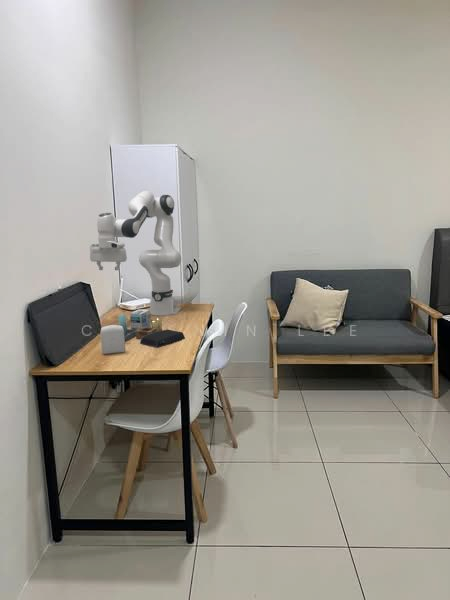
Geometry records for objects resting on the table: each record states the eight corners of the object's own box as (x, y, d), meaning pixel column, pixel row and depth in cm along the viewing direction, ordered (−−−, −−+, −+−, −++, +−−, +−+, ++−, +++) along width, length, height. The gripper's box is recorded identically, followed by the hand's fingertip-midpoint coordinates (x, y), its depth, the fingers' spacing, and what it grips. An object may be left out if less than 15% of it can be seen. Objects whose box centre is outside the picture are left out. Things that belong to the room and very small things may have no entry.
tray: (122, 333, 235) (122, 328, 235) (138, 334, 233) (138, 329, 232) (109, 340, 222) (108, 335, 222) (125, 341, 220) (125, 336, 219)
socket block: (143, 334, 232) (142, 327, 231) (157, 335, 230) (157, 327, 229) (135, 338, 225) (135, 331, 224) (150, 339, 223) (150, 331, 222)
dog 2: (157, 330, 240) (156, 317, 238) (163, 330, 239) (162, 317, 238) (154, 332, 237) (154, 319, 235) (160, 332, 236) (160, 319, 235)
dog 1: (153, 333, 235) (152, 319, 234) (159, 333, 234) (158, 320, 233) (150, 334, 232) (150, 321, 231) (156, 335, 231) (156, 321, 230)
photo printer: (101, 354, 201) (99, 327, 198) (101, 351, 205) (99, 325, 202) (125, 352, 203) (124, 325, 201) (125, 349, 207) (123, 323, 205)
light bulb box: (142, 334, 233) (141, 313, 231) (130, 333, 235) (129, 313, 233) (151, 329, 243) (150, 309, 241) (140, 328, 245) (138, 308, 243)
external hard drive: (138, 344, 217) (138, 336, 216) (167, 335, 232) (167, 327, 231) (157, 349, 209) (157, 340, 208) (186, 339, 224) (186, 331, 223)
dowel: (118, 337, 226) (117, 315, 224) (122, 335, 229) (120, 314, 227) (125, 337, 225) (123, 315, 223) (128, 335, 228) (127, 314, 226)
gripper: (86, 244, 241) (88, 270, 244) (121, 244, 236) (123, 271, 238) (93, 243, 247) (94, 269, 250) (127, 243, 242) (128, 269, 244)
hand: (108, 270), depth 244 cm, fingers open, 8 cm apart
